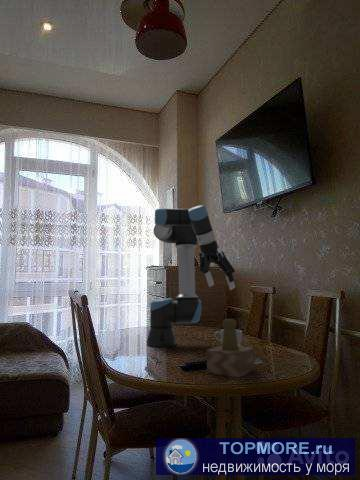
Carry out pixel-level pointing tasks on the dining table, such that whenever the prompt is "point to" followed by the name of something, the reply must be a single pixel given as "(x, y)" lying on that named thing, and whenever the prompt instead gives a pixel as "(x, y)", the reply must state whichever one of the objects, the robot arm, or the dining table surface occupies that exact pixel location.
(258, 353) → the dining table surface
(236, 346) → the cork
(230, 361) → the walnut block
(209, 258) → the robot arm
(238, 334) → the teacup
